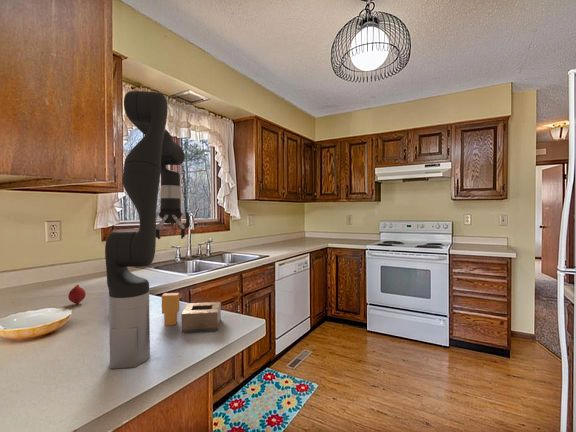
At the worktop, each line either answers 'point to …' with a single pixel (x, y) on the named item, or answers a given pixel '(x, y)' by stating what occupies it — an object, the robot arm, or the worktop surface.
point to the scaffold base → (201, 317)
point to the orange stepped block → (170, 307)
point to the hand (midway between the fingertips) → (170, 238)
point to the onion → (76, 294)
